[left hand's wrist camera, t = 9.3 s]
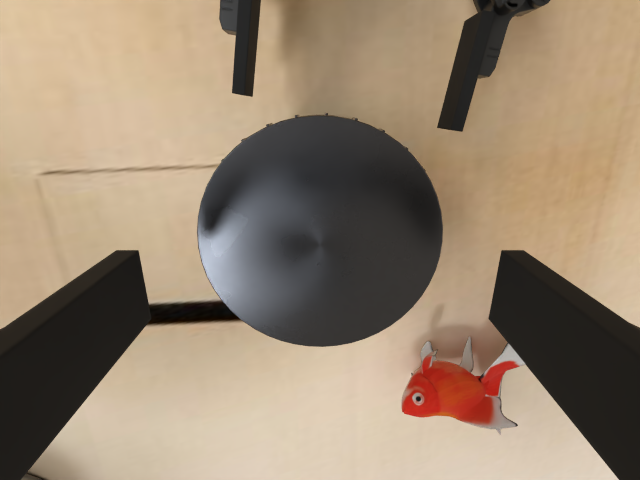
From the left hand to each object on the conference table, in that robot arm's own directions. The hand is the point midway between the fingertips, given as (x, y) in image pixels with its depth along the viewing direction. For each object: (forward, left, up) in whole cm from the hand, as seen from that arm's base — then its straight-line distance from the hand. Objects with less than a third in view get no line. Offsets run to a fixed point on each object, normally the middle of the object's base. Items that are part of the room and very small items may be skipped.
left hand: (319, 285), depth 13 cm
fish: (-6, -22, -20) cm, 30 cm away
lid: (0, 0, -4) cm, 4 cm away
